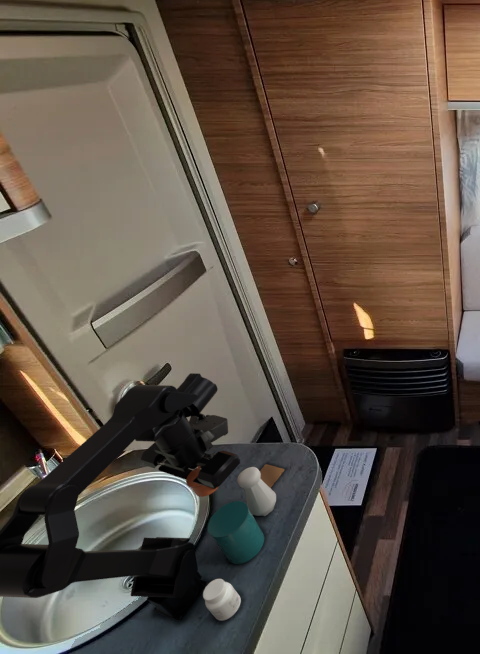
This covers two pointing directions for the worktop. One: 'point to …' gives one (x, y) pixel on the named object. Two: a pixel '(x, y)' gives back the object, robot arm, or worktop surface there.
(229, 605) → the pill bottle
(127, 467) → the worktop surface
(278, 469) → the coaster
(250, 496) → the salt shaker
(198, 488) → the brown lid
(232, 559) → the tin
